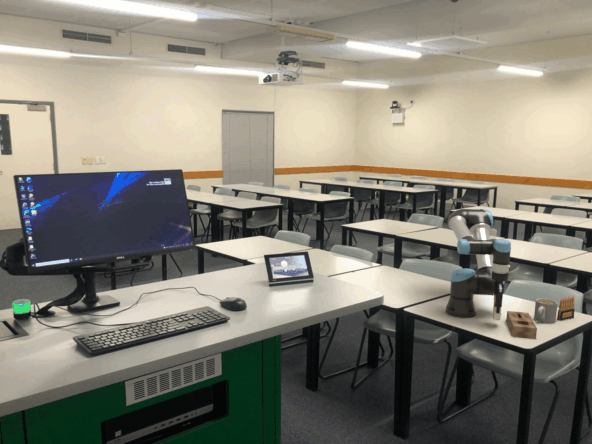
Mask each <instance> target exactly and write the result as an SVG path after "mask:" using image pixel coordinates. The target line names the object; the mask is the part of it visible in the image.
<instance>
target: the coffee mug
mask: <svg viewBox="0 0 592 444" xmlns="http://www.w3.org/2000/svg"><path fill="white" fill-rule="evenodd" d="M557 314H558V301H556V300H554V299H551V298H543V297H539V298H535V305H534V315H533V319H534V321H536V322H539V323H543V324H555V323H556V321H557Z"/></svg>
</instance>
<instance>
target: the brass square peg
mask: <svg viewBox="0 0 592 444" xmlns="http://www.w3.org/2000/svg"><path fill="white" fill-rule="evenodd" d="M494 305H496V294H494V295H493V306H492V308H493V309H492V319H493V320H495V321H500V320H499V319H494V311H495V307H494ZM501 314H502V312H501V313H500V318H501V316H502V315H501Z"/></svg>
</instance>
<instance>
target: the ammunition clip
mask: <svg viewBox="0 0 592 444" xmlns="http://www.w3.org/2000/svg"><path fill="white" fill-rule="evenodd" d="M559 301H560V302H559V305H558V306H559V307H558V309H557V315H556V321H560V322H562V321H566V320H567V321H568V320H571V319H574V317H575V295H570V296H568V297H567V296H565V297H564V296H563V297H561V298H560V300H559Z"/></svg>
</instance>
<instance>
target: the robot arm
mask: <svg viewBox="0 0 592 444" xmlns="http://www.w3.org/2000/svg"><path fill="white" fill-rule="evenodd" d="M447 225H448V228H449V229H450V230H451V231H453V233H454V235H455V237H456V239H457V243H456V249H457V250H456V251H457V253H458V254H460V255H475V257H476V263H477V269H476V271H475V270H474V269H473V268H459V269H455V270H453V271H452V272H451V274H450V275H451V276H450V290H449V291H450V293H449V299H448V302H447V303H446V305H445V313H447V314H448V315H449V316H453V317H456V318H473V317H475V316H476V314H477V311H476V310H477V309H476V307H475V302H474V295H478V296H493V297H494V294H496V305H494V304H493V305H494V307H495V311H494V319H499V320H498V321H501V317H500V313H501V314H502V307H503V297H504V296H503V295H504V288H505V282H507V281H509V272H510V271H509V270H510V269H509V268H511V265H510V259H511V252H512V251H511V250H512V243H511V241H510V240H507V239H503V238H502V239H500V238H499V239H498V238H497V239H496V238H491V236H490V232H491V230H492V229H493V227H494V216H493V213H492V212H491V211H490V210H488V209H485V208H484V209H483V208H479V209H478V208H477V209H474V208H459V209H456V210H454V211H453V212H451V214H450V215H449V216H448V219H447Z"/></svg>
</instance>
